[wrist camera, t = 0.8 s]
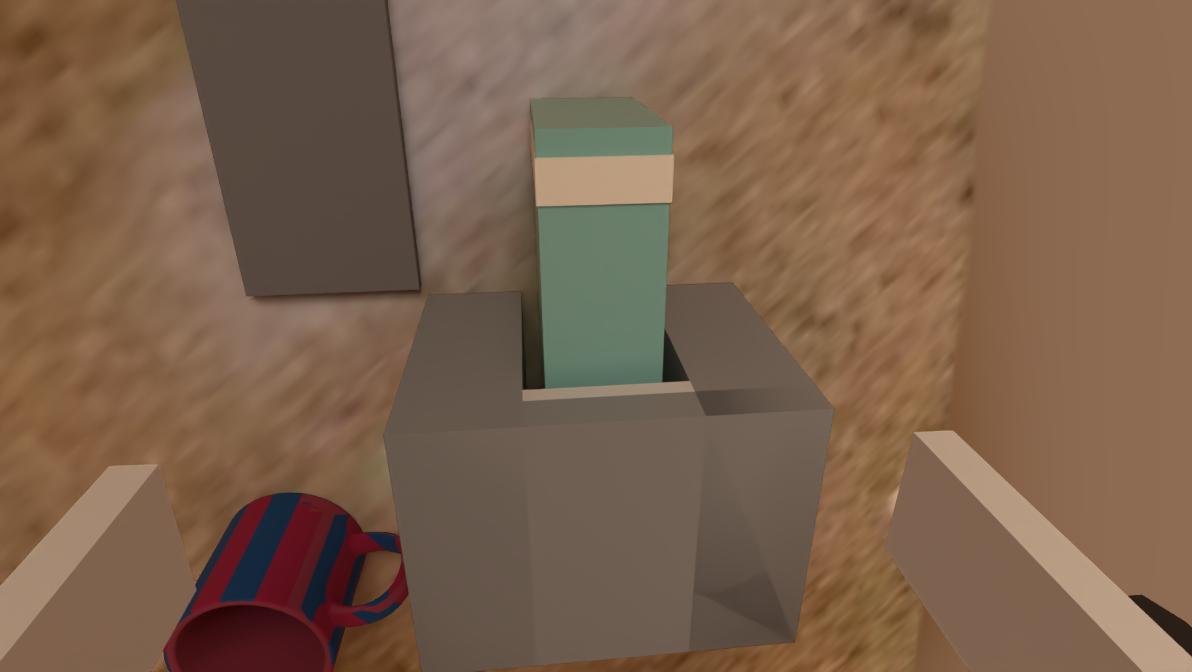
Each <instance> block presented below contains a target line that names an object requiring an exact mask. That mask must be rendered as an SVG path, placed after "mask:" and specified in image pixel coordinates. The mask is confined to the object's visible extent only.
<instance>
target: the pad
mask: <svg viewBox="0 0 1192 672" xmlns="http://www.w3.org/2000/svg"><path fill="white" fill-rule="evenodd" d="M176 2H177V6H178V10H179V14H180V18H181V23H182V27H183V31H184V35H185V40H186V44H187V48H188V52H189V56H190V61H191V65H192V69H193V73H194V78H195V82H196V86H197V90H198V94H199V99H200V103H201V107H202V111H203V115H204V120H205V124H206V128H207V132H208V137H209V141H210V145H211V149H212V153H213V158H214V162H215V166H216V170H217V174H218V179H219V183H220V187H221V191H222V196H223V200H224V204H225V208H226V212H227V217H228V221H229V225H230V229H231V233H232V238H233V242H234V246H235V250H236V255H237V259H238V263H239V267H240V271H241V276H242V280H243V284H244V288H245V292H246V296H268V295H293V294H318V293H343V292H368V291H393V290H418V289H420V286H421V279H420V271H419V262H418V254H417V246H416V237H415V229H414V220H413V212H412V204H411V195H410V187H409V179H408V170H407V162H406V154H405V145H404V137H403V128H402V120H401V112H400V103H399V95H398V87H397V78H396V70H395V62H394V53H393V45H392V37H391V28H390V20H389V11H388V3H387V0H176Z"/></svg>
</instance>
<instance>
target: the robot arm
mask: <svg viewBox="0 0 1192 672" xmlns="http://www.w3.org/2000/svg"><path fill="white" fill-rule="evenodd" d="M884 549H885V550H886V552H887V553H888V554H889V556H890V557H891V559H892V560H893V562H894V563H895V565H896V566H897V567H898V569H899V570H900V572H901V573H902V575H903V576H904V578H905V579H906V581H907V582H908V583H909V585H910V586H911V588H912V589H913V591H914V592H915V594H916V595H917V596H918V598H919V599H920V601H921V602H922V604H923V605H924V607H925V608H926V609H927V611H928V612H929V614H930V615H931V616H932V618H933V620H934V621H935V623H936V624H937V625H938V627H939V628H940V630H941V631H942V632H943V634H944V636H945V637H946V638H947V640H948V641H949V643H950V644H951V646H952V647H953V648H954V650H955V651H956V653H957V654H958V656H959V657H960V659H961V660H962V661H963V663H964V664H965V666H966V667H967V669H968V670H969V672H1192V627H1191V626H1190V625H1189V624H1188V623H1186V622H1185V621H1183V620H1182V619H1180V618H1178V617H1177V616H1175V615H1174V614H1172V613H1170V612H1169V611H1167V610H1166V609H1164V608H1163V607H1161V606H1159V605H1158V604H1156V603H1154V602H1153V601H1151V600H1150V599H1148V598H1146V597H1145V596H1143V595H1132V596H1127V595H1126V594H1125V593H1124V592H1123V591H1122V590H1120V589H1119V588H1118V587H1117V586H1116V585H1115V584H1114V583H1113V582H1112V581H1111V580H1110V579H1109V578H1108V577H1107V576H1106V575H1105V574H1104V573H1102V571H1101V570H1099V569H1098V568H1097V567H1096V566H1095V565H1094V564H1093V563H1092V562H1091V561H1090V560H1089V559H1088V558H1087V557H1086V556H1084V554H1083V553H1082V552H1080V551H1079V550H1078V549H1077V548H1076V547H1075V546H1074V545H1073V544H1072V543H1071V542H1070V541H1069V540H1068V539H1067V538H1065V536H1064V535H1063V534H1061V533H1060V532H1059V531H1058V530H1057V529H1056V528H1055V527H1054V526H1053V525H1052V524H1051V523H1050V522H1049V521H1048V520H1047V519H1046V518H1045V517H1044V516H1043V515H1041V514H1040V513H1039V512H1038V511H1037V510H1036V509H1035V508H1034V507H1033V506H1032V505H1031V504H1030V503H1029V502H1028V501H1027V500H1026V499H1025V498H1024V497H1022V496H1021V495H1020V494H1019V493H1018V492H1017V491H1016V490H1015V489H1014V488H1013V487H1012V486H1011V485H1010V484H1009V483H1008V482H1007V481H1006V480H1005V479H1004V478H1002V477H1001V476H1000V475H999V474H998V473H997V472H996V471H995V470H994V469H993V468H992V467H991V466H990V465H988V463H986V462H985V460H983V459H982V458H981V457H980V456H979V455H978V454H977V453H976V452H975V451H974V450H973V449H972V448H971V447H970V446H969V445H968V444H967V443H966V442H965V441H963V440H962V439H961V438H960V437H959V436H958V435H957V434H956V433H955V432H954V431H931V432H914V434H913V438H912V442H911V445H910V449H909V453H908V457H907V461H906V465H905V469H904V473H903V477H902V481H901V485H900V489H899V493H898V496H897V500H896V504H895V508H894V512H893V516H892V520H891V524H890V528H889V532H888V536H887V540H886V544H885V548H884ZM196 590H197V589H196V586H195V582H194V579H193V576H192V573H191V569H190V566H189V563H188V559H187V556H186V553H185V549H184V546H183V543H182V539H181V536H180V533H179V529H178V526H177V523H176V519H175V516H174V513H173V509H172V506H171V503H170V500H169V496H168V493H167V490H166V486H165V483H164V480H163V476H162V473H161V470H160V466H159V464H148V465H124V466H109V467H108V468H107V469H106V470H105V471H104V472H103V473H102V475H101V476H100V477H99V478H98V479H97V480H96V481H95V482H94V483H93V484H92V485H91V487H90V488H89V489H88V490H87V491H86V492H85V493H84V494H83V495H82V496H81V498H80V499H79V500H78V501H77V502H76V503H75V504H74V505H73V506H72V507H71V509H70V510H69V511H68V512H67V513H66V514H65V515H64V516H63V517H62V518H61V520H60V521H59V522H58V523H57V524H56V525H55V526H54V527H53V528H52V529H51V530H50V532H49V533H48V534H47V535H46V536H45V537H44V538H43V539H42V540H41V541H40V543H39V544H38V545H37V546H36V547H35V548H34V549H33V550H32V551H31V552H30V554H29V555H28V556H27V557H26V558H25V559H24V560H23V561H22V562H21V563H20V565H19V566H18V567H17V568H16V569H15V570H14V571H13V572H12V573H11V574H10V575H9V577H8V578H7V579H6V580H5V581H4V582H3V583H2V584H1V585H0V672H151V670H152V669H153V667H154V665H155V663H156V661H157V660H158V658H159V656H160V654H161V652H162V651H163V649H164V647H165V645H166V644H167V642H168V640H169V638H170V636H171V635H172V633H173V631H174V629H175V628H176V626H177V624H178V622H179V620H180V619H181V617H182V615H183V613H184V612H185V610H186V608H187V606H188V604H189V603H190V601H191V599H192V597H193V595H194V594H195V592H196Z"/></svg>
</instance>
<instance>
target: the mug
mask: <svg viewBox="0 0 1192 672" xmlns="http://www.w3.org/2000/svg"><path fill="white" fill-rule="evenodd" d="M378 550H387V551H392V552H396V553H399V554H401V566H400V569H399V572H398V575H397V577H396V579H395V581H394V582H393V584H392V585H391V586H390V588H389V589H388V590H387V591H386V592H385V593H384V594H383V595H382V596H380V597H379V598H377V599H375V600H374V601H372V602H369V603H367V604H364V605H359V606H351V605H352V602H353V598H354V595H355V591H356V588H357V584H358V581H359V577H360V574H361V570H362V567H363V563H364V559H365V556H366V553H367V552H371V551H378ZM195 586H196V589H197V590H196V592H195V594H194V595H193V597H192V599H191V601H190V603H189V604H188V606H187V608H186V610H185V612H184V613H183V615H182V617H181V619H180V620H179V622H178V624H177V626H176V628H175V629H174V631H173V633H172V635H171V636H170V638H169V640H168V642H167V644H166V645H165V647H164V649H163V651H164V660H165V663H166V665H167V668H168V670H169V672H333V669H334V665H335V662H336V658H337V655H338V651H339V648H340V644H341V641H342V637H343V634H344V630H345V627H354V626H361V625H366V624H370V623H373V622H375V621H378V620H380V619H383V618H384V617H386V616H388V615H389V614H391V613H392V612H394V611H395V610H396V609H397V608H398V607H399V606H400V605H401V604H402V602H403V601H404V600H405V599H406V597H407V595H408V594H409V592H408V585H407V579H406V573H405V567H404V561H403V554H402V548H401V542H400V536H398V535H395V534H392V533H387V532H363V533H362V531H361V528H360V527H359V525H358V524H357V523H356V521H355V520H354V519H353V518H352V517H351V516H350V515H349V514H348V513H347V512H346V511H345V510H343V509H342V508H340V507H339V506H338V505H336V504H334V503H332V502H330V501H328V500H325V499H323V498H320V497H317V496H313V495H308V494H302V493H279V494H274V495H269V496H265V497H262V498H260V499H257V500H255V501H253V502H251V503H249V504H248V505H246V506H245V507H243V508H242V509H241V510H240V511H239V512H238V513H237V514H236V515H235V517H234V518H233V519H232V521H231V522H230V524H229V526H228V528H227V529H226V531H225V533H224V535H223V536H222V538H221V540H220V542H219V543H218V545H217V547H216V549H215V550H214V552H213V554H212V556H211V557H210V559H209V561H208V563H207V565H206V566H205V568H204V570H203V572H202V573H201V575H200V577H199V579H198V580H197V582H196V584H195Z"/></svg>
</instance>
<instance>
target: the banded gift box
mask: <svg viewBox="0 0 1192 672" xmlns="http://www.w3.org/2000/svg"><path fill="white" fill-rule="evenodd" d="M530 107H531V120H530V137H531V158H532V168H533V178H534V202H535V226H536V249H537V273H538V297H539V321H540V344H541V368H542V384H543V389H552V388H571V387H589V386H607V385H626V384H644V383H662V374H663V351H664V327H665V304H666V281H667V257H668V234H669V211H670V203H672V195H673V173H674V155H673V154H672V141H673V126H671V125H670V124H669V123H667V122H666V121H664V120H663V119H662V118H660V117H659V116H657V115H656V114H654V113H653V112H652V111H650V110H649V109H647V108H646V107H645V106H643V105H642V104H640V103H639V102H638V101H636V100H635V99H633V98H632V97H620V98H553V99H530Z"/></svg>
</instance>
